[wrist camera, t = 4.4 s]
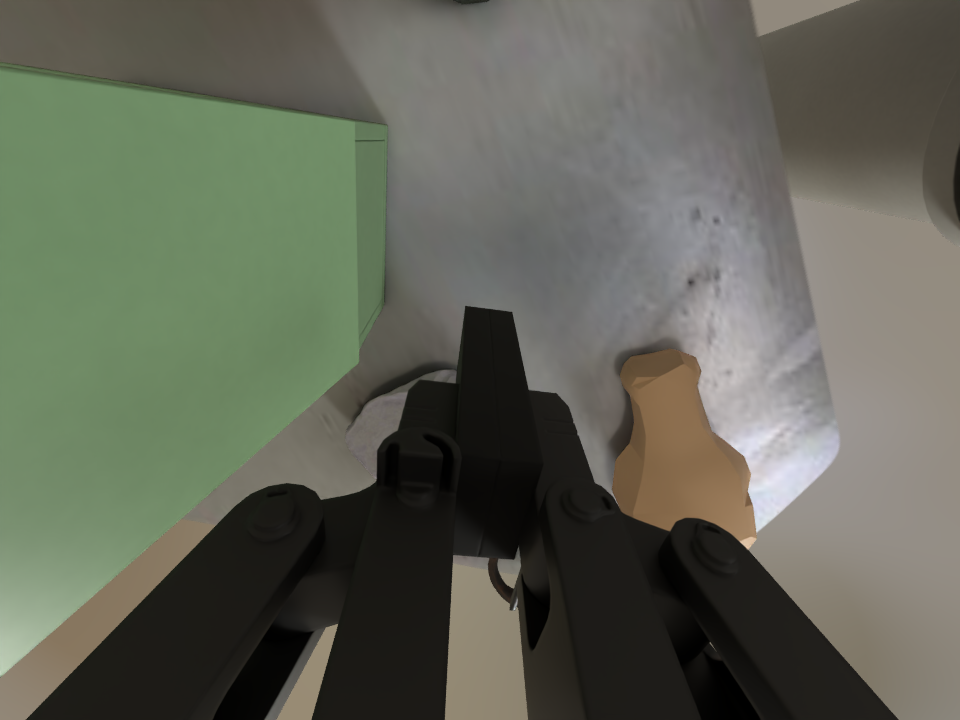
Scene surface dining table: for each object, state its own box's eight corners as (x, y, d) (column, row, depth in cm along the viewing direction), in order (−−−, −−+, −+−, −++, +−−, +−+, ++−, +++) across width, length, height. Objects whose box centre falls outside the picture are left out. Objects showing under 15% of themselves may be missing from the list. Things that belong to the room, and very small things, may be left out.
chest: (179, 278, 28) (82, 324, 21) (128, 82, 22) (-29, 57, 15) (384, 305, 29) (355, 357, 22) (387, 124, 23) (350, 119, 16)
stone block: (348, 411, 36) (420, 485, 38) (323, 439, 31) (406, 520, 33) (443, 336, 32) (516, 421, 34) (430, 354, 28) (515, 451, 30)
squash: (625, 515, 41) (638, 598, 33) (575, 352, 34) (576, 408, 26) (740, 504, 37) (786, 594, 30) (711, 318, 30) (760, 371, 22)
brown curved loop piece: (518, 567, 46) (493, 620, 38) (498, 493, 45) (468, 532, 38) (622, 568, 41) (617, 630, 33) (600, 484, 40) (590, 527, 33)
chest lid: (-41, 677, 8) (-14, 692, 8) (-950, -83, 3) (-902, -73, 2) (346, 359, 22) (359, 362, 21) (338, 117, 16) (355, 120, 16)
